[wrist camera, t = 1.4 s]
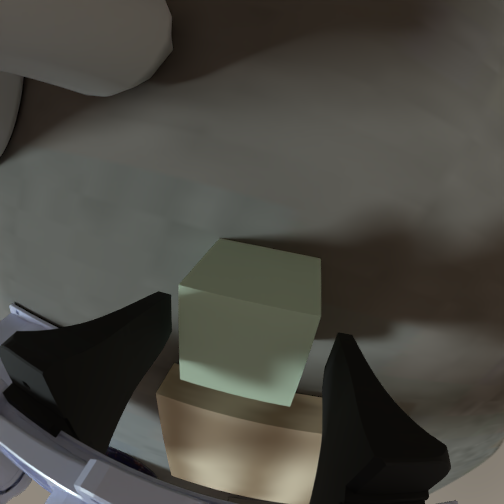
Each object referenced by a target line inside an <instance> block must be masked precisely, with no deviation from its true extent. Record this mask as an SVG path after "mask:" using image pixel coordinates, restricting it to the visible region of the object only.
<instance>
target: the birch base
mask: <svg viewBox="0 0 504 504" xmlns="http://www.w3.org/2000/svg"><path fill="white" fill-rule="evenodd" d="M156 398H157V404H158V410H159V416H160V422H161V428H162V433H163V438H164V443H165V448H166V453H167V458H168V462H169V467H170V471H171V475H172V476H174V477H177V478H180V479H183V480H186V481H189V482H192V483H195V484H199V485H202V486H206V487H209V488H213V489H216V490H220V491H224V492H228V493H232V494H237V495H241V496H246V497H251V498H256V499H261V500H267V501H273V502H279V503H286V504H309V502H310V499H311V495H312V490H313V486H314V481H315V476H316V471H317V466H318V460H319V454H320V447H321V440H322V397H315V396H309V395H303V394H298V393H295V395H294V398H293V400H292V403H291V406H290V407H289V406H283V405H278V404H273V403H268V402H264V401H259V400H255V399H250V398H246V397H242V396H238V395H234V394H230V393H226V392H222V391H218V390H215V389H211V388H207V387H204V386H201V385H197V384H194V383H191V382H187V381H184V380H181V379H180V365H179V364H176V363H174V364H173V366H172V367H171V369H170V371H169V372H168V374H167V375H166V377H165V379H164V380H163V382H162V384H161V385H160V387H159V389H158V390H157V392H156Z"/></svg>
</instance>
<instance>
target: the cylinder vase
mask: <svg viewBox="0 0 504 504" xmlns="http://www.w3.org/2000/svg"><path fill="white" fill-rule="evenodd" d="M23 78H24V76H20V75H16V74H12V73H8V72H4V71H0V157H1V155H2V154H3V152H4V150H5V148H6V146H7V144H8V142H9V139H10V137H11V134H12V131H13V128H14V125H15V122H16V118H17V114H18V110H19V105H20V100H21V94H22V87H23Z"/></svg>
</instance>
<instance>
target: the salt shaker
mask: <svg viewBox="0 0 504 504" xmlns="http://www.w3.org/2000/svg"><path fill="white" fill-rule="evenodd" d="M171 30H172V15H171V13H170V11H169V8H168V6H167V3H166V1H165V0H0V71H4V72H8V73H12V74H16V75H20V76H24V77H28V78H31V79H35V80H39V81H42V82H46V83H49V84H52V85H56V86H59V87H62V88H66V89H69V90H72V91H75V92H78V93H81V94H84V95H92V96H103V97H107V96H112V95H115V94H117V93H120V92H123V91H125V90H128V89H131V88H133V87H136V86H137V85H139V84H141V83H143V82H144V81H146V80H148V79H150V78H151V77H152V76H153V74H154V73H155V72H156V71H157V69H158V68H159V67H160V65H161V64H162V63H163V62H164V60H165V59H166V58H167V57H168V56H169V54H170V53H171V52H172V51H173V44H172V37H171Z"/></svg>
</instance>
